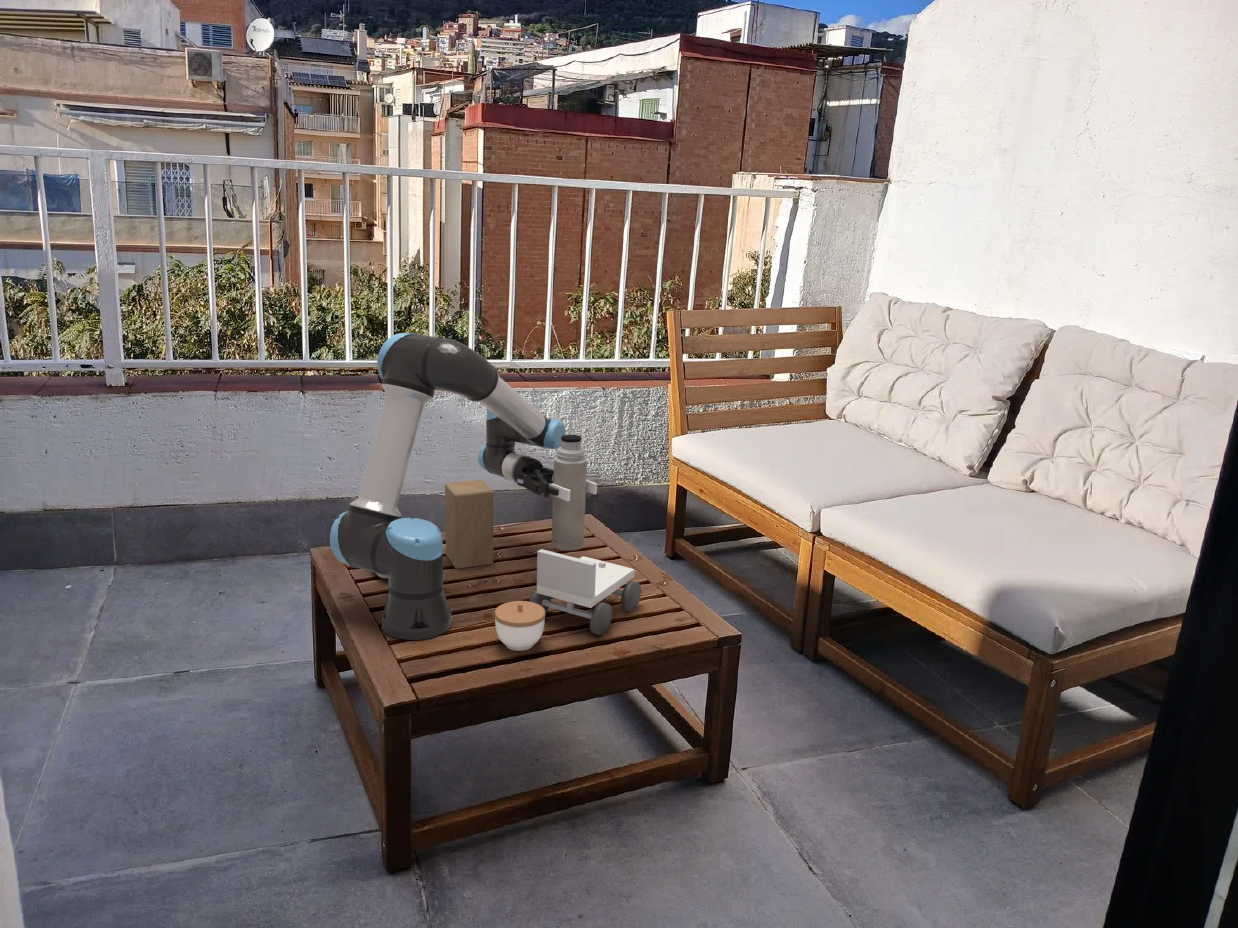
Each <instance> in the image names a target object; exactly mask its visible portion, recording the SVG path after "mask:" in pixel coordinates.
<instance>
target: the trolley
mask: <svg viewBox="0 0 1238 928" xmlns="http://www.w3.org/2000/svg"><path fill="white" fill-rule="evenodd" d="M536 559H537V561H536V563H537V564H536V571H537V572H536V586H535V588H534V589H533V590H532V593H531V594H530V597H529V602H533V603H536V604H539V605H541V606H542V607H543V608H544V609H545V615H546V614H547V612H548V610H549V609H550V608H551V609H554V610H557V611H561V612H564V613H565V612H566V613H568V614H572V615H576V616H578V617H583V618H586V619H589V629H590V632H591V633H592V634H595V635H598V636H603V635H604V634H605V633H606V632H607V631H608V629H609V628H610V626H611V621H612V617H613V608H612V606H611V605H610V604H609V603H606V602H602V601H603V600H604V599H605V598H607V597H608V596H610V595H614V596H618V597H621V598H620V606H621V609H622V610H623V611H626V612H630V613H632V612H634V611H635V610H636V609H637V607H638V605H639V604H640V600H641V597H642V586H641V583H640V582H638V581H634V580H632V579H634V578H635V568H631V567H627V566H623V565H619V564H616V563H612V562H608V561H604V560H600V559H595V558H592V557H588V556H584V555H582V556H581V557H579V558H578V557H574V556H570V555H566V554H562V553H557V552H555V551H550V550H546V549H542V548H541V549H539V550H537V557H536ZM624 585H625V586H624ZM623 586H624V587H623ZM621 587H623V590H620V588H621ZM552 598H554V599H557V600H561V601H564V602H566V605H565V604H563V603H559V602H555V601H552ZM575 605H578V606H583V607H585V608H590V609H591V608H593V607H594V608H593V611H592V612H590V611H586V610H583V609H581V608H580V609H579V608H577V607H575Z"/></svg>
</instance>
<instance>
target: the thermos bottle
mask: <svg viewBox="0 0 1238 928" xmlns="http://www.w3.org/2000/svg"><path fill="white" fill-rule="evenodd" d="M561 440H562V441H561V446H560V447H559V448H558V449H556V456H555V457H554V459H553V470H554V480H553V479H552V480H553V484H556V485H558V486H561V487H564V488H566V489H569V490H570V501H565V500H563V499H560V498H558V497H555V496H553V495H552V519H551V523H552V524H551V545H552V547H553V548H555V549H557V550H561V551H575V550H576V551H577V550H581V549H582V548H583V547H584V545H585V521H586V520H585V518H586V498H587V497H586V493H587V492H586V480H587V467H588V466H587V465H588V464H587V463H588V459H587V458H586V457H585V454H586V453H585V449H584V448H583V447H582V442H581V441H582V436H581V435H577V434H565V435H563V436H562V437H561Z"/></svg>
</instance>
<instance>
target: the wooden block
mask: <svg viewBox="0 0 1238 928" xmlns="http://www.w3.org/2000/svg"><path fill="white" fill-rule="evenodd" d="M444 508H445V509H444V511H445V512H444V518H445V520H444V521H445V522H444V523H445V526H444V528H445V556H446V557H447V559H448V560H449V561H450V563H451V565H453V567H454V569H455V570H460V569H467V568H473V567H474V568H475V567H481V566H487V565H488V566H489V565H493V564H494V491H493V489H491V487H490V486H489V485H488V484H487V483H486V482H485V481H484V480H483V479H474V480H466V481H465V480H463V481H456V482H455V481H454V482H446V483H444Z"/></svg>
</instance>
